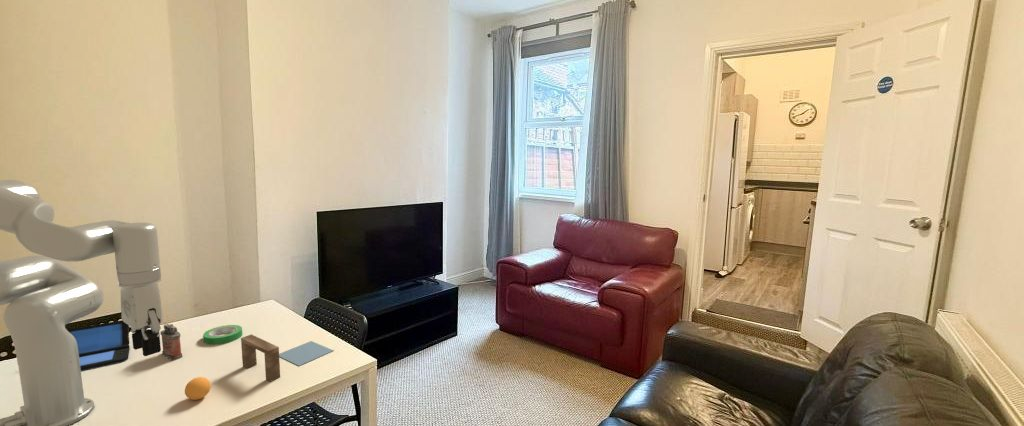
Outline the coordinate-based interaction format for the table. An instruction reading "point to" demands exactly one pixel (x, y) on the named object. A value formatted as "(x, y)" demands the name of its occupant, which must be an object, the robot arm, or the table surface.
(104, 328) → the handheld game console
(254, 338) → the bridge
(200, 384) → the ball
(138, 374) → the table surface
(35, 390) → the robot arm
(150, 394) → the table surface
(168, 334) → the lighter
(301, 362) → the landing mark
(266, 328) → the table surface
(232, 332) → the tape roll
